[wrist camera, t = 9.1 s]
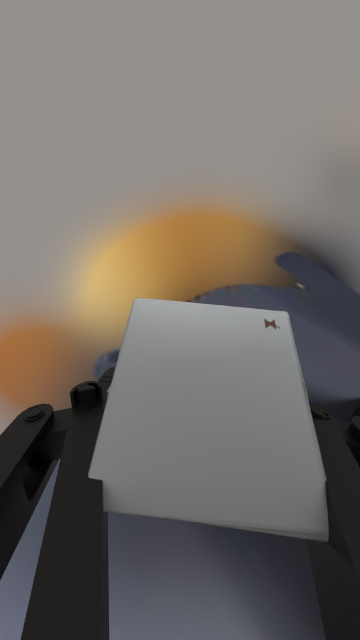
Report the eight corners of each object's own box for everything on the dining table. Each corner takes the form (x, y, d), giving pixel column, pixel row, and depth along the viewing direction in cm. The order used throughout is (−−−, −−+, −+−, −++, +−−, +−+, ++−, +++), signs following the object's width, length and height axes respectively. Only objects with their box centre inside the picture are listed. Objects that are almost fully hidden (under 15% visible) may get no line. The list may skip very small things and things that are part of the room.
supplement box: (155, 363, 19) (132, 290, 8) (223, 370, 19) (295, 307, 8) (141, 445, 16) (67, 515, 5) (225, 455, 16) (356, 553, 4)
